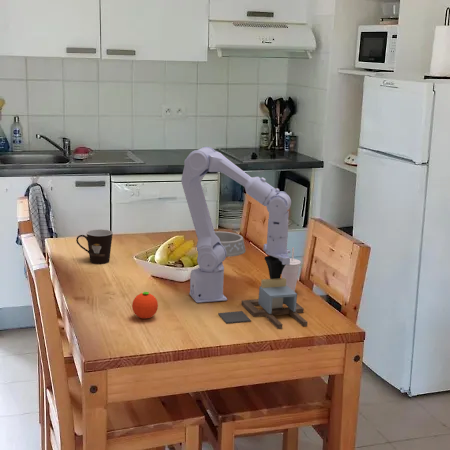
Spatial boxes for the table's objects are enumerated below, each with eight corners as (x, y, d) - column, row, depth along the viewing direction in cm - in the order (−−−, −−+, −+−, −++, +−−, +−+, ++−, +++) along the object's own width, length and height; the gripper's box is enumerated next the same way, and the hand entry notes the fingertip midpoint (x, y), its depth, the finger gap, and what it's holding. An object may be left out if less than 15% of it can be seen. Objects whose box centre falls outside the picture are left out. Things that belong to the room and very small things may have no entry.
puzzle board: (266, 330, 185) (266, 325, 185) (241, 304, 203) (241, 300, 203) (318, 325, 190) (318, 320, 190) (289, 300, 208) (289, 296, 208)
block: (267, 312, 198) (268, 295, 197) (261, 306, 202) (262, 290, 201) (282, 310, 200) (283, 294, 198) (276, 305, 204) (277, 289, 203)
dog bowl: (199, 242, 267) (200, 228, 266) (247, 246, 265) (248, 232, 264) (191, 254, 251) (192, 240, 250) (242, 258, 249) (243, 244, 247)
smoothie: (297, 295, 212) (300, 251, 209) (276, 293, 213) (279, 249, 210) (299, 289, 218) (303, 245, 215) (279, 287, 220) (282, 243, 216)
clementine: (134, 311, 195) (135, 286, 193) (159, 312, 195) (160, 288, 193) (130, 322, 187) (130, 296, 185) (156, 323, 187) (156, 297, 185)
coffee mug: (117, 260, 239) (118, 232, 237) (100, 266, 232) (100, 237, 230) (92, 254, 245) (92, 226, 243) (74, 260, 238) (74, 231, 236)
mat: (226, 323, 188) (226, 322, 188) (218, 314, 195) (218, 312, 195) (250, 321, 191) (250, 320, 191) (242, 312, 197) (242, 310, 197)
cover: (269, 313, 193) (270, 288, 191) (258, 303, 200) (259, 279, 198) (295, 311, 195) (297, 286, 193) (284, 301, 203) (285, 277, 201)
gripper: (301, 241, 192) (298, 288, 196) (280, 228, 206) (277, 272, 209) (277, 243, 190) (274, 290, 193) (257, 229, 203) (255, 274, 207)
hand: (274, 281), depth 201 cm, fingers closed
